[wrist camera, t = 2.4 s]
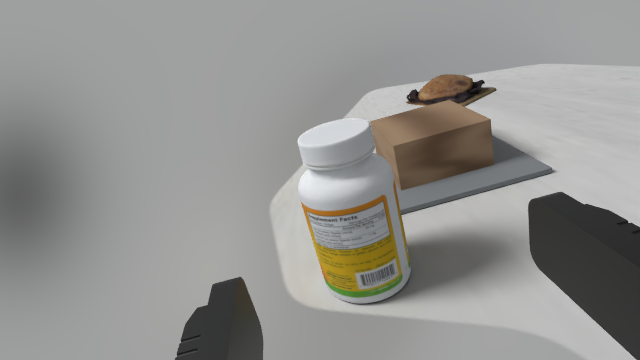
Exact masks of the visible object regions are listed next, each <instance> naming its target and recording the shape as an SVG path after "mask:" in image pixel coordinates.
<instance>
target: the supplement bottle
mask: <svg viewBox="0 0 640 360" xmlns="http://www.w3.org/2000/svg"><path fill="white" fill-rule="evenodd" d="M374 143H375V141H374V138H373V134H372V129H371V125H370V123H369V121H367V120H365V119H361V118H347V119H341V120H336V121H332V122H327V123H324V124H321V125H318V126H316V127H314V128H312V129H310V130H308V131H306V132H305V133H303V134H302V135H301V136H300V137H299V138H298V146H299V150H300V153H301V157H302V160H303V164H304V166H305V167H307V168H309V169H308V170H307V171H306V172H305V173H304V174H303V175H302V177H301V179H300V181H299V185H298V191H299V196H300V200H301V203H302V207H303V210H304V213H305V216H306V220H307V223H308V226H309V230H310V233H311V236H312V239H313V243H314V246H315V250H316V253H317V256H318V259H319V263H320V266H321V269H322V273H323V276H324V279H325V282H326V284H327V287H328V289H329V290H330V291H331V293H332V294H333V295H335V296H336V297H337V298H339V299H341V300H344V301H347V302H351V303H371V302H377V301H380V300H383V299H386V298H388V297H390V296H392V295H394V294H395V293H397V292H398V291H399V290H400V289H402V287H403V286H404V285H405V284H406V282H407V281H408V279H409V276H410V272H411V265H410V258H409V253H408V248H407V243H406V238H405V232H404V227H403V222H402V217H401V211H400V206H399V201H398V195H397V190H396V184H395V179H394V175H393V171H392V168H391V165H390V164H389V162H388V161H387V160H386V159H385V158H383V157H382V156H380V155H378V154H375V153H372V152H373V151H374V149H375V145H374Z"/></svg>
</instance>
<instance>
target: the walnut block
mask: <svg viewBox="0 0 640 360" xmlns="http://www.w3.org/2000/svg"><path fill="white" fill-rule="evenodd" d="M370 123H371V128H372V133H373V137H374V141H375V147H376V152H377V154H378V155H380V156H382V157H383V158H385V159H386V160H387V161H388V162H389V164H390V165H391V168H392V171H393V175H394V179H395V183H396V184H397V185H398V187H399V188H400V189H401V190H405V189H409V188H412V187H416V186H419V185H423V184H427V183H430V182H434V181H438V180H441V179H445V178H448V177H452V176H456V175H459V174H463V173H466V172H470V171H474V170H477V169H481V168H485V167H488V166H492V165H494V158H493V145H492V132H491V119H489V118H487V117H485V116H483V115H480V114H478V113H476V112H474V111H472V110H470V109H468V108H466V107H464V106H461V105H459V104H457V103H455V102H453V101H451V100H446V101H443V102H439V103H435V104H432V105H428V106H425V107H421V108H417V109H414V110H410V111H406V112H403V113H399V114H396V115H392V116H388V117H385V118H381V119H377V120H374V121H370Z"/></svg>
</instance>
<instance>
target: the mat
mask: <svg viewBox="0 0 640 360" xmlns="http://www.w3.org/2000/svg"><path fill="white" fill-rule="evenodd" d="M492 145H493V158H494V165H492V166H488V167H485V168H481V169H477V170H474V171H470V172H466V173H463V174H459V175H456V176H452V177H448V178H445V179H441V180H438V181H434V182H430V183H427V184H423V185H419V186H416V187H412V188H409V189H405V190H401V189H400V188H399V187H398V185H397V184H396V183H395V184H396V190H397V195H398V201H399V206H400V211H401V214H405V213H408V212H412V211H415V210H419V209H423V208H426V207H430V206H433V205H437V204H441V203H444V202H448V201H451V200H455V199H459V198H462V197H466V196H469V195H473V194H477V193H480V192H484V191H488V190H491V189H495V188H498V187H502V186H506V185H509V184H513V183H516V182H520V181H524V180H527V179H531V178H534V177H538V176H542V175H545V174H549V173H552V168H551V167H549V166H548V165H546V164H544V163H542V162H540V161H538V160H537V159H535V158H533V157H531V156H529V155H527V154H525V153H524V152H522V151H520V150H518V149H516V148H514V147H513V146H511V145H509V144H507V143H505V142H503V141H502V140H500V139H498V138H496V137H494V136H492Z"/></svg>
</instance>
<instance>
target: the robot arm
mask: <svg viewBox="0 0 640 360" xmlns="http://www.w3.org/2000/svg"><path fill="white" fill-rule="evenodd" d="M528 214H529V238H530V251H531V255H532V258H533V260H534V262H535V264H536V265H537V267H538V268H539V269H540V270H541V271H542V272H543V273H544V274H545V275H546V276H547V277H548V278H549V279H550V280H551V281H553V282H554V283H555V284H556V285H557V286H558V287H559V288H560V289H561V290H562V291H563V292H564V293H565V294H567V295H568V296H569V297H570V298H571V299H572V300H573V301H574V302H575V303H576V304H577V305H578V306H579V307H581V308H582V309H583V310H584V311H585V312H586V313H587V314H588V315H589V316H590V317H591V318H592V319H593V320H595V321H596V322H597V323H598V324H599V325H600V326H601V327H602V328H603V329H604V330H605V331H606V332H607V333H609V334H610V335H611V336H612V337H613V338H614V339H615V340H616V341H617V342H618V343H619V344H620V345H621V346H623V347H624V348H625V349H626V350H627V351H628V352H629V353H630V354H631V355H632V356H633V357H634V358H635V359H637V360H640V227H638V226H636V225H634V224H633V223H628V221H627V220H626V219H624V218H622V217H620V216H618V215H617V214H615V213H613V212H611V211H609V210H606V209H602V208H599V207H595V206H592V205H588V204H585V205H584V204H582V203H580V202H579V201H577V200H575V199H573V198H572V197H570V196H568V195H567V194H565V193H563V192H557V193H553V194H550V195H546V196H542V197H539V198H535V199H532V200H531V201H530V202H529V206H528ZM175 360H263V336H262V329H261V325H260V322H259V319H258V316H257V314H256V311H255V308H254V306H253V303H252V300H251V298H250V295H249V293H248V290H247V288H246V285H245V282H244V280H243V279H242V278H241V277H238V278H234V279H231V280H227V281H223V282H219V283H215V284H213V286H212V289H211V293H210V297H209V302H208V305H206V306H203V307H199V308H197V309H196V310H195V312H194V313H193V314H192V316H191V317H190V318H189V320H188V321H187V323H186V324H185V327H184V331H183V334H182V338H181V343H180V344H179V348H178V351H177V357H176V358H175Z"/></svg>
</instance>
